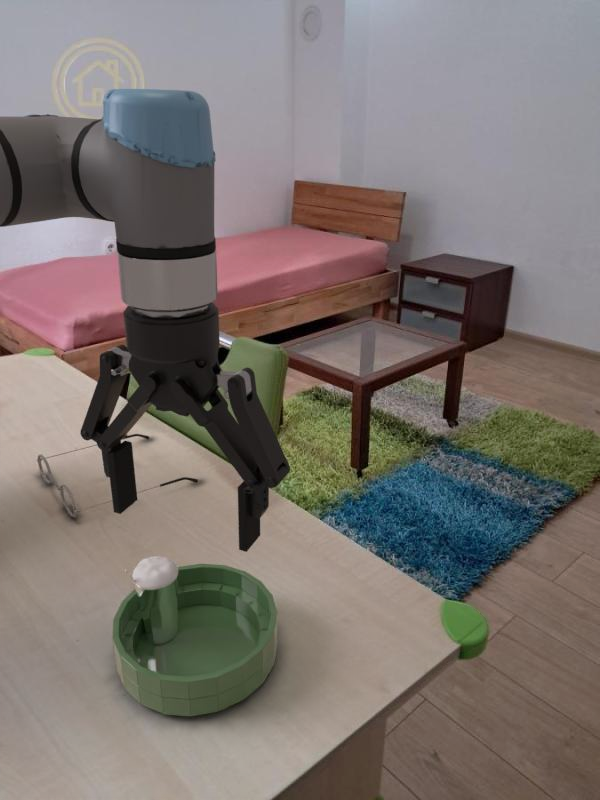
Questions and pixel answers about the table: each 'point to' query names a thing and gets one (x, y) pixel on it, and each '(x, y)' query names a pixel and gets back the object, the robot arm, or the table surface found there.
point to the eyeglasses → (51, 479)
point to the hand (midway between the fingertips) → (185, 523)
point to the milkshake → (157, 597)
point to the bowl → (200, 643)
